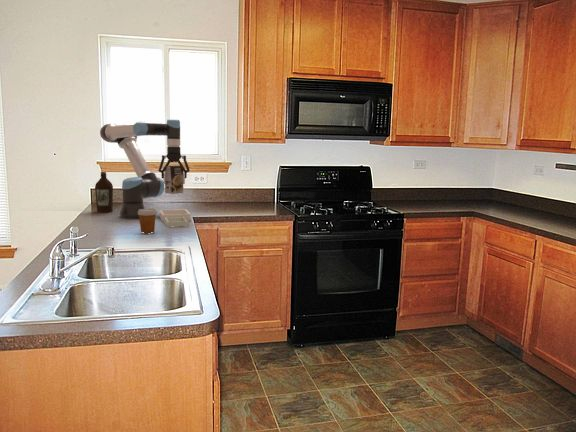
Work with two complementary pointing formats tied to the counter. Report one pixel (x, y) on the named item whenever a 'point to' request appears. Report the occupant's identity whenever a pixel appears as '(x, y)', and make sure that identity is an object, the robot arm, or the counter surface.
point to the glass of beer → (147, 220)
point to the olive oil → (104, 194)
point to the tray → (176, 221)
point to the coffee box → (174, 179)
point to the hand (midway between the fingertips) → (174, 183)
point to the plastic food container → (174, 214)
